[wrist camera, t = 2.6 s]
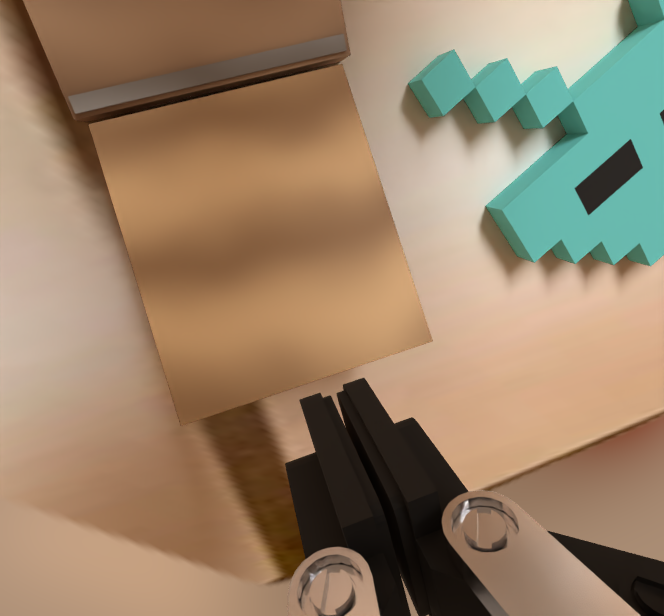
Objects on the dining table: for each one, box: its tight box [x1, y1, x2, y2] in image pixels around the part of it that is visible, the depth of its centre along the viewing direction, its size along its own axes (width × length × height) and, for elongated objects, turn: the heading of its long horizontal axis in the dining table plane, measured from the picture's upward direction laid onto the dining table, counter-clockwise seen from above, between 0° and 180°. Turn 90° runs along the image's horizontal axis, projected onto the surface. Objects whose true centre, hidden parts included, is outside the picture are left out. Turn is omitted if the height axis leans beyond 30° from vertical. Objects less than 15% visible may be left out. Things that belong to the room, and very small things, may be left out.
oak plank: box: [89, 64, 433, 426], centre depth 21 cm, size 14×12×2 cm
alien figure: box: [408, 0, 664, 266], centre depth 27 cm, size 20×2×20 cm
